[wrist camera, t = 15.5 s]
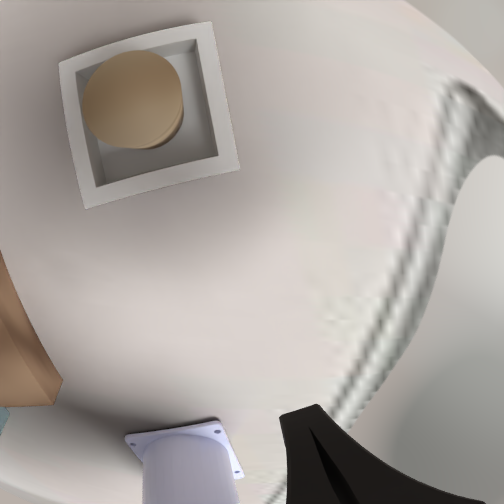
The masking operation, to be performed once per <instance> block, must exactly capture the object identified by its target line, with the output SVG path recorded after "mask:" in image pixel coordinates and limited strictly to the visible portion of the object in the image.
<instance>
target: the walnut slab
mask: <svg viewBox="0 0 504 504" xmlns="http://www.w3.org/2000/svg"><path fill="white" fill-rule="evenodd" d="M62 381H63V380H62V378H61V376H60V375H59V373H58V372H57V370H56V368H55V367H54V365H53V363H52V361H51V360H50V358H49V356H48V355H47V353H46V351H45V349H44V347H43V346H42V344H41V342H40V340H39V338H38V336H37V334H36V332H35V330H34V328H33V327H32V325H31V323H30V320H29V318H28V316H27V314H26V312H25V310H24V308H23V306H22V304H21V301H20V299H19V297H18V295H17V292H16V290H15V288H14V285H13V283H12V280H11V278H10V275H9V273H8V270H7V268H6V265H5V262H4V259H3V257H2V254H1V251H0V407H25V406H45V405H54V402H55V399H56V397H57V394H58V392H59V389H60V386H61V384H62Z"/></svg>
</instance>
